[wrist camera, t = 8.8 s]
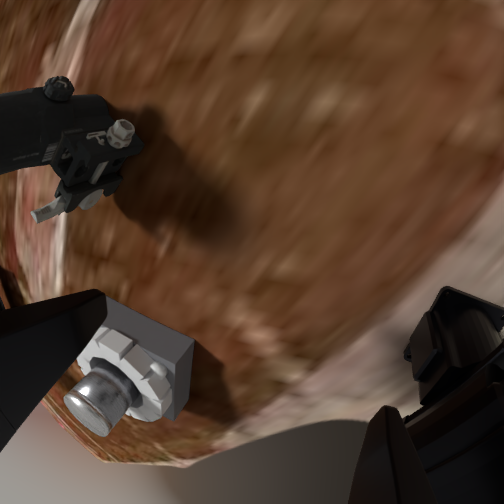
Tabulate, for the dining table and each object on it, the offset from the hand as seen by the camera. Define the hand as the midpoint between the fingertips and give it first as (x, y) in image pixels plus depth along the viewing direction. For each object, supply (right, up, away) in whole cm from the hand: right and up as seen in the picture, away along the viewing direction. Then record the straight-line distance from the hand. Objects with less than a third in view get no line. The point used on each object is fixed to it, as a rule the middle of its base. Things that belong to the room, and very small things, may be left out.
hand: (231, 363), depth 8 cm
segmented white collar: (-11, -7, +22) cm, 25 cm away
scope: (-12, +13, +13) cm, 22 cm away
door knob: (-12, -9, +19) cm, 24 cm away
